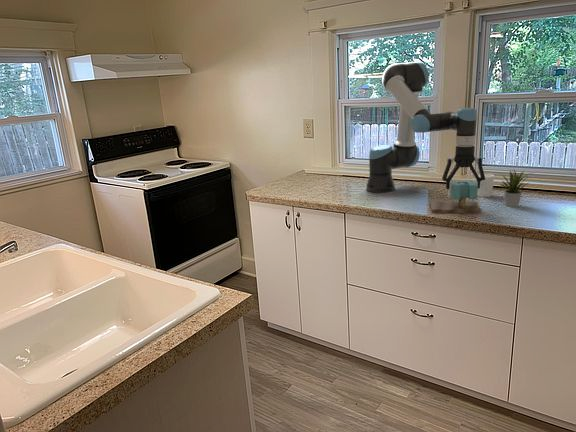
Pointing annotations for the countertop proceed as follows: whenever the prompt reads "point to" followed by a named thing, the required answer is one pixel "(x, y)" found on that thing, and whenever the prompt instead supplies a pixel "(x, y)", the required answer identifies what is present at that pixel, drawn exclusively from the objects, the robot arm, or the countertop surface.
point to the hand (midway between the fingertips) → (462, 196)
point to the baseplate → (455, 206)
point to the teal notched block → (464, 189)
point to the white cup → (486, 186)
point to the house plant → (513, 189)
